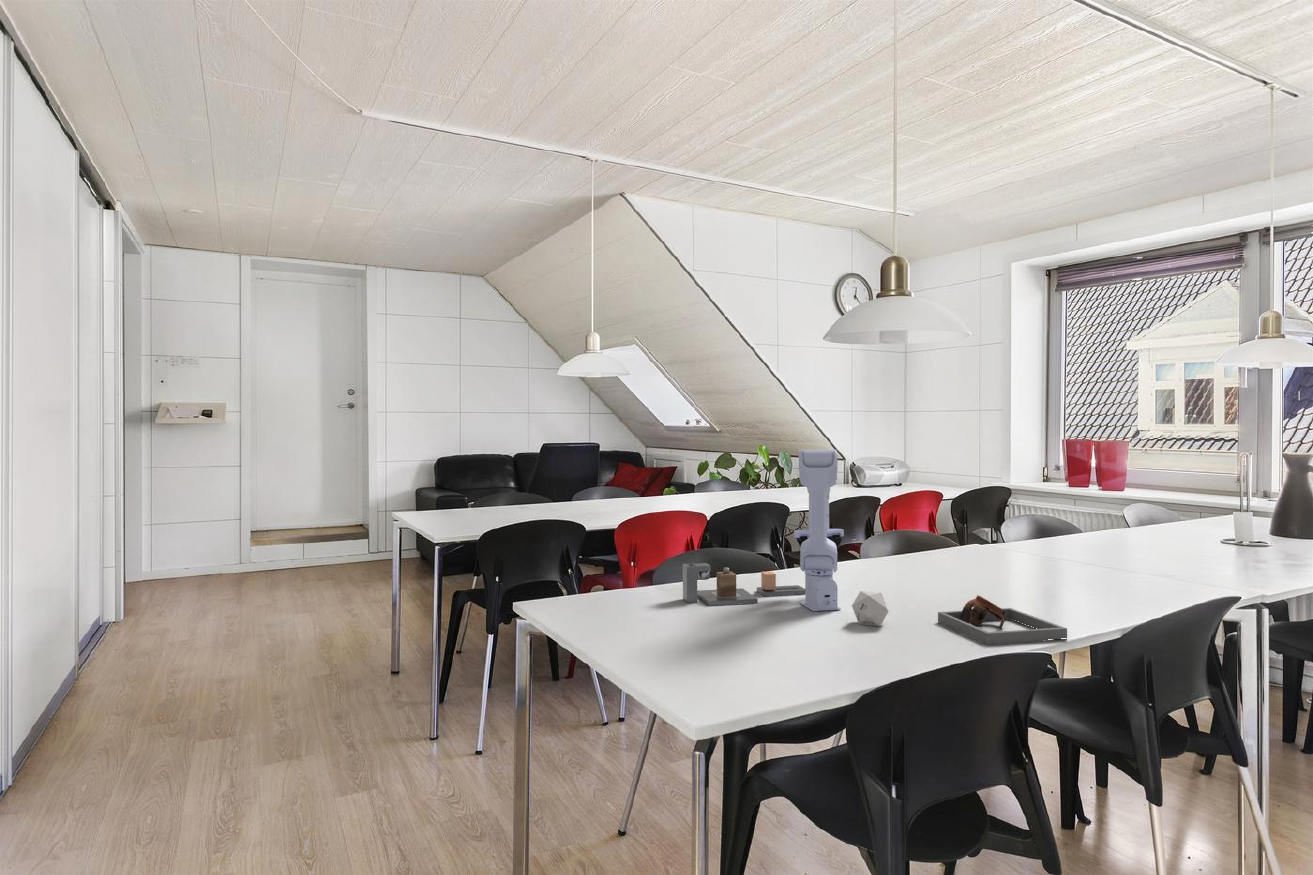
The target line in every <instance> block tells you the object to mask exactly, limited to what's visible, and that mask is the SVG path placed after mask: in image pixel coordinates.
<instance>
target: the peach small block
mask: <svg viewBox="0 0 1313 875" xmlns="http://www.w3.org/2000/svg"><path fill="white" fill-rule="evenodd" d="M760 573H761V575H760V576H761V577H760V578H761V580H760V581H761V586H760V587H762V588H764V589H765V590H776V586H777V585H776V584H777V583H776V582H777V578H776V577H777V576H776V575H777V574H776V573H775V572H773V571H761V572H760Z"/></svg>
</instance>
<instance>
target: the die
mask: <svg viewBox="0 0 1313 875" xmlns="http://www.w3.org/2000/svg"><path fill="white" fill-rule="evenodd" d="M851 607H852V609H853V613H854V615H855V618H856V620H857V623H858V626H860V625H861V626H872V627H881V626H882V625H883V622H884V621H885V619H886V617H887V615H888V614H889V608H888V606H887V604H886V600H885V598H884V595H883V593H882V592H879V591H878V592H877V591H865V590H864V591H863V590H861V591H859V593H858V595H857V596H856V597H855V599H854V602H853V603H852V604H851Z"/></svg>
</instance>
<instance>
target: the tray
mask: <svg viewBox="0 0 1313 875" xmlns="http://www.w3.org/2000/svg"><path fill="white" fill-rule="evenodd" d="M1000 608H1001V607H1000ZM1001 609H1003V610H1004V611H1005V613H1004V615H1003V617H1004V620H1011V619H1013V620H1016V621H1019V622H1021V623H1023V624H1022V625H1024V624H1026V625H1029V626H1032V627H1034V628H1037V629H1034V628H1032V629H1018V630H1017V629H1015V630H1002V631H987V630H985V629H983V628H980V627H976V626H973V625H972V624H971V623H966V622H964V621H962V620H960V616H961V612H962V610H953V611H952V610H951V611H949V610H948V611H937V622H938V623H939V624H941V625H944V626H946V627H948V628H950V629H952V630H955V631H956V632H958V633H960V634H963V635H965V636H967V637H970V638H972V639H974V640H977V641H978V642H980V643H983V644H985V645H987V646H992V645H1001V644H1002V645H1005V644H1018V643H1032V642H1033V643H1034V641H1037V642H1044V641H1043V640H1048V639H1061V638H1067V639H1068V628H1067V627H1063V626H1062V625H1059V624H1055V623H1053V622H1050V621H1048V620H1045V619H1041V618H1039V617H1037V616H1034V615H1030V614H1028V613H1025V612H1022V611H1019V610H1017V609H1014V608H1012V607H1006V608H1005V607H1004V608H1003V607H1002V608H1001ZM995 619H999V618H997V617H996V616H995V615H993V614H991V613H990V612H988V611H987V615H986V616H985V618H984V619H983V621H996V620H995ZM1013 620H1012V621H1013ZM983 621H982V622H983ZM1016 621H1015V622H1016ZM1021 623H1020V624H1021ZM1026 625H1025V626H1026ZM1029 626H1028V627H1029Z"/></svg>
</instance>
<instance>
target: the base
mask: <svg viewBox="0 0 1313 875" xmlns="http://www.w3.org/2000/svg"><path fill="white" fill-rule="evenodd" d="M756 592H757V593H758V594H760V595H762V596H763V597H779V596H780V597H781V596H783V597H784V596H799V595H801V596H802V595H805V587H802V586H801V585H798V584H797V585H796V584H795V585H776V590H765V589H764V588H762V587H761V586H757V587H756Z"/></svg>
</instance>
